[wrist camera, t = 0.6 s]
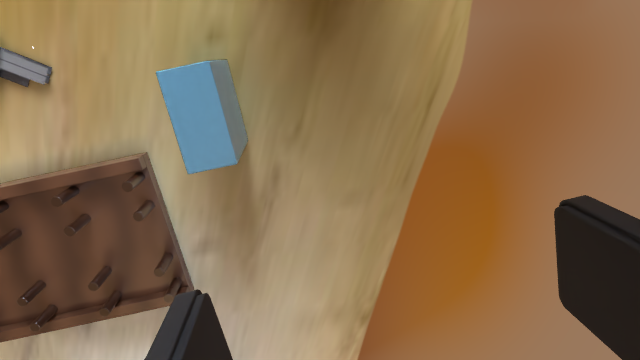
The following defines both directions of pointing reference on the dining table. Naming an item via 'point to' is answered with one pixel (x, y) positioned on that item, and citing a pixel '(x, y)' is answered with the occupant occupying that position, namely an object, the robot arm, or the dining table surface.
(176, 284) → the rack
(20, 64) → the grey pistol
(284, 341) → the dining table surface
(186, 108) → the carton
